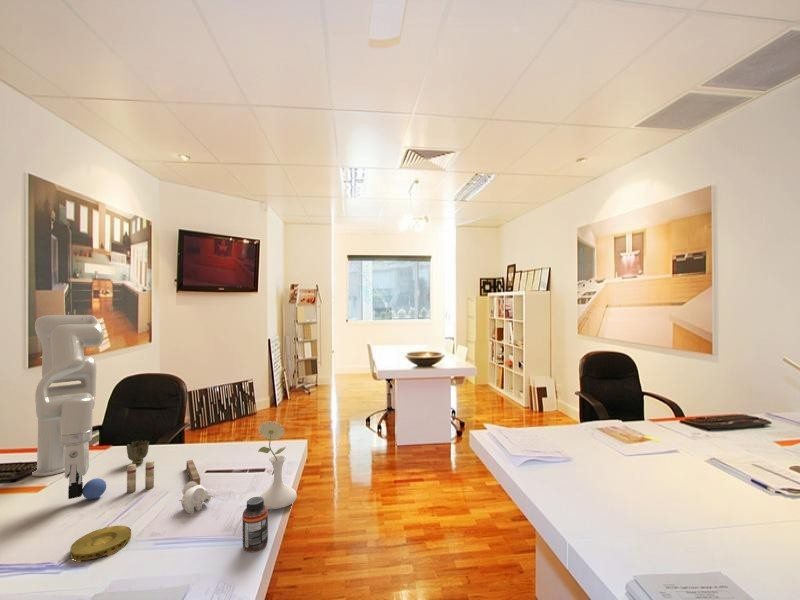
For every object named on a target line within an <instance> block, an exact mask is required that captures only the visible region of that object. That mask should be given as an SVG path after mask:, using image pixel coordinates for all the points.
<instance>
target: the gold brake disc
mask: <svg viewBox="0 0 800 600" xmlns="http://www.w3.org/2000/svg"><path fill="white" fill-rule="evenodd" d="M131 538H132V529H131V527H129V526H127V525H111V526H107V527H103V528H100V529H96V530H93V531H91V532H89V533H86V534H85V535H83V536H81V537H79V538H78V539H77V540H76V541H74V542H73V543H72V544H71V546H70V552H69V553H70V554H69V555H71V556H70V559H71V558H72V559H74V560H76V561H75V562H77V561H82V560H83V561H86V560H89V561H90V560H93V559H97V558H98V559H99V558H102V557H103V556H106V557H108V556H111V555H113V554H115V553H117V552H119V551H121V550H122V549H123V548H125V545H126V544H128V543H129V542H130V540H131ZM72 559H71V560H72ZM83 561H82V562H83Z"/></svg>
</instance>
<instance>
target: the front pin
mask: <svg viewBox="0 0 800 600" xmlns="http://www.w3.org/2000/svg"><path fill="white" fill-rule="evenodd" d="M126 467H127V468H126V493H127V494H133V493H135V492H137V465H136V464H132V463H131V464H128V465H127V466H126Z"/></svg>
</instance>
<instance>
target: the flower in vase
mask: <svg viewBox="0 0 800 600" xmlns="http://www.w3.org/2000/svg"><path fill="white" fill-rule="evenodd" d="M283 427H284V425H281V423H280V422H279V423H277V422H276V420H274V421H271V420H268V421H267V420H266V421H264V422H263V423H261V424H259V426H258V429H257V431H258V432H259V434H260V435H261V437H263V438H264V439H266V440H267V439H268V440H269V441H268V447H266V446H261V447H260V448H259V450H257V452H258V453H259V452H260V453H264V454H269V453H270V452H271V453H272V455H273V456H271V457H269V459H268V460H269V462H270V463H271V465H272V468H273V481H272V483H271V485H270V486H268V487H267V488H266V489H265V490H264V491H263V492H262V493H261V494H260V496H259V497H262V498H263V499H264V505H265V506H266V507H267V509H268V510H278V509H283V508H286V507H288V506H290V505H291V504H293V503H294V502H295V501H296V500H297V497H298V494H297V492H296V490H295V489H294V488H293V487H291V486H290V485H288V484H286V483H284V481H283V477H282V473H283V472H282V471H283V466H284V462H285V461H286V460H287V456H286V455H282V454H281V453H282V452H283V451H284V450H285V449H286V448H287V445H285V446H283V447H281V448H278V449H277V450H276V451H275V452H274V451H273V450H272V448H271V441H272V440H273V441H275V440H279V439H280V438H283V437H284V435H285V433H286V431H285V428H283ZM279 454H281V455H279Z"/></svg>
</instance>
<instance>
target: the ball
mask: <svg viewBox="0 0 800 600" xmlns="http://www.w3.org/2000/svg"><path fill="white" fill-rule="evenodd" d="M106 489H107V483H106V480H104V479H103V478H98V477H97V478H96V477H95V478H92V479H91V480H89V481H87V482H86V483H85V484H84V485H83V490H82V496H83V497H84V498H85V499H87V500H96V499H98V498H100V497H101V496H103V494H104V493H105V491H106Z"/></svg>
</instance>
